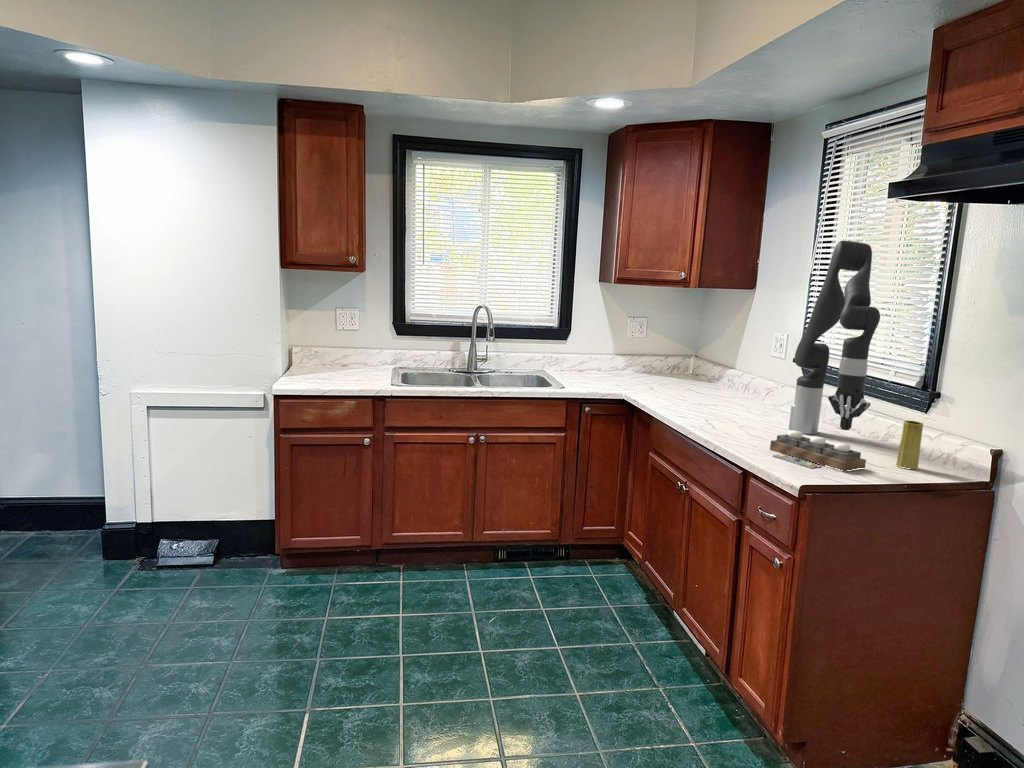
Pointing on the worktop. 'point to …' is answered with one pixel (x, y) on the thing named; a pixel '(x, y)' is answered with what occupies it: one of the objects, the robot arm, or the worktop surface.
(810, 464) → the pattern card
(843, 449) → the button right
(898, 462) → the vase
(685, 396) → the worktop surface
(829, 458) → the button board
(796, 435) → the button left
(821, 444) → the button middle
